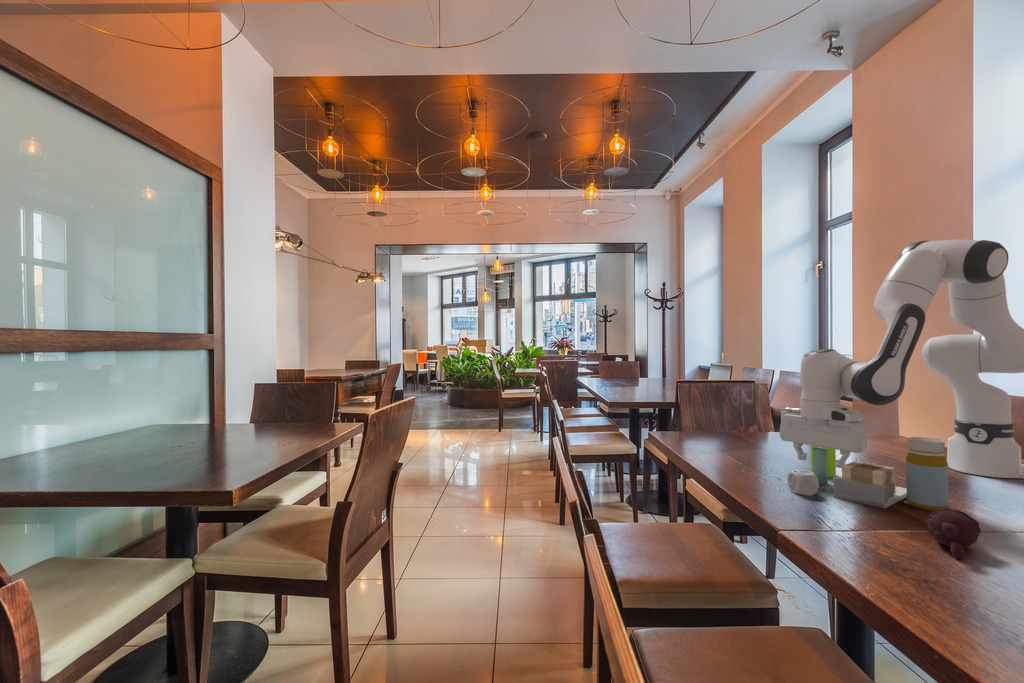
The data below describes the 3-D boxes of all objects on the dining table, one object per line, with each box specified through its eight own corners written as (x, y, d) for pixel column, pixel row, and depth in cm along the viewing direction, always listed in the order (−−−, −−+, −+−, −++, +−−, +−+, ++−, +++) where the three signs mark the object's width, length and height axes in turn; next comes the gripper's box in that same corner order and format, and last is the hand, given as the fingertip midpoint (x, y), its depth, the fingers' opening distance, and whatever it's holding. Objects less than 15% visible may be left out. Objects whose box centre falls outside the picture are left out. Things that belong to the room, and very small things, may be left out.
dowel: (816, 480, 126) (816, 446, 127) (830, 483, 124) (829, 449, 124) (811, 482, 125) (810, 448, 125) (824, 485, 122) (824, 450, 122)
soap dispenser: (844, 477, 129) (843, 404, 130) (819, 477, 129) (818, 404, 130) (830, 471, 135) (829, 401, 135) (806, 471, 135) (805, 401, 136)
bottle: (956, 513, 101) (955, 443, 102) (919, 511, 103) (918, 442, 103) (934, 502, 108) (933, 437, 108) (899, 500, 110) (898, 436, 110)
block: (855, 485, 118) (855, 461, 118) (895, 493, 111) (895, 467, 111) (842, 491, 113) (841, 466, 113) (882, 499, 107) (882, 473, 107)
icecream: (921, 495, 94) (917, 523, 83) (971, 494, 89) (974, 523, 78) (933, 531, 93) (931, 564, 82) (985, 531, 88) (989, 566, 77)
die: (819, 495, 114) (819, 475, 114) (798, 495, 114) (798, 475, 114) (807, 489, 119) (807, 469, 119) (787, 489, 119) (786, 469, 119)
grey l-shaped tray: (864, 483, 123) (863, 466, 123) (912, 493, 115) (912, 475, 115) (833, 497, 113) (833, 478, 113) (884, 508, 105) (884, 488, 105)
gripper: (774, 407, 132) (775, 457, 131) (857, 416, 114) (858, 473, 114) (787, 405, 135) (788, 454, 134) (870, 414, 117) (871, 470, 117)
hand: (820, 463), depth 124 cm, fingers open, 8 cm apart
